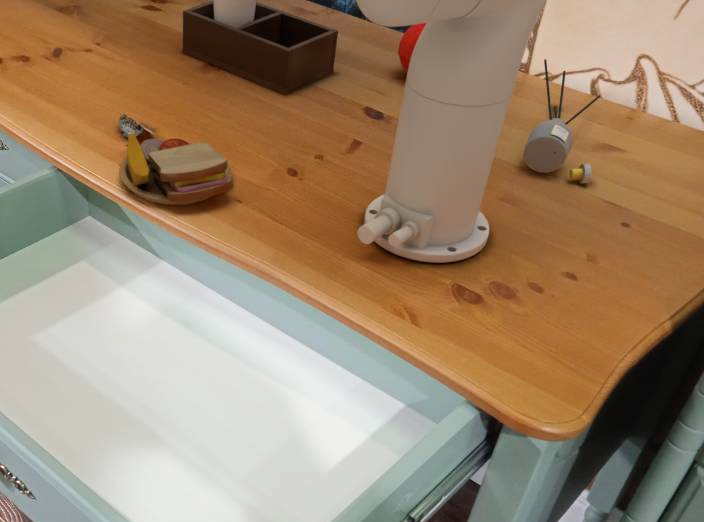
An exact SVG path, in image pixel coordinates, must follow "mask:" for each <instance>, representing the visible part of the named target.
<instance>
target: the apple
mask: <svg viewBox="0 0 704 522" xmlns="http://www.w3.org/2000/svg"><path fill="white" fill-rule="evenodd" d="M426 24H427V23H423V24H416V25H410V27H409V28H408V29H407V30H406V31H405V33H403V35H402V37H401V38H400V40H399V44H398V48H397V49H398V50H397V53H398V58H399V61H400V64H401V67H402V68H403V70H404V71H405V72H406V74H407V73H408V68H409V63H410V59H411V56H412V53H413V50H414V47H415V45H416V43H417V40H418V38H419V36H420V34H421V33H422V31H423V29H424V27H425V26H426Z"/></svg>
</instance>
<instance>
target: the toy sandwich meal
mask: <svg viewBox="0 0 704 522" xmlns="http://www.w3.org/2000/svg"><path fill="white" fill-rule="evenodd" d="M137 138H138V137H137V136H135V135H134V134H129V137H127V149H126V151H127V152H126V153H127V154H126V156H125V158H123V160H122V161H121V163H120V166H119V171H118V173H119V178H120V179H121V182H122V183H123V184H124V185H125V187H127V189H129V190H130V191H131V192H132V193H134V194H135V195H136V196H138V197H140V198H142V199H143V200H146V201H149V202H151V203H155V204H158V205H159V204H160V205H166V206H184V205H185V206H186V205H191V204H197V203H201V202H204V201H206V200H209V199H210V198H212V197H214V196H215V197H216V196H218V195H221V194H224V193H225V192H229V191H230V190H232V189H233V188H234V180H233V178H232V167H231V164H230V162H229V161H228V159H227V158H226V157H225V156H224V155H222V154H221V153H220V152H218V151H216V150H215V149H214V148H213V147H212V146H211V145H210V143H208V142H207V141H203V142H196V143H194V142H188V141H186V140H184V139H181V138H168V139H165V140H162V139H158V138H149V139H145V140H144V141H142V143H140V142H139V141H138V139H137Z"/></svg>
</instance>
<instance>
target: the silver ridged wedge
mask: <svg viewBox="0 0 704 522" xmlns="http://www.w3.org/2000/svg"><path fill="white" fill-rule="evenodd" d="M118 124H119V126H118V129H119V130H120V131H121V132H122V135H123V136H124V137H126V138H128V137H129V134H134V135H135V136H136V137H137V136H138V135H142V134H143V133H144V131H147V132H148V133H150V134H152V135H155V136H156V134H155V133H154V132H153V131H152V130H150V129H148V128H146V126H144V125H142V124H141V123H139V122H138V121H136V120H134V118H132V117H129V116H128V115H127V114H125V113H122V114H121V115H120V117H119V118H118ZM136 125H138V126H137V127H136Z"/></svg>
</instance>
